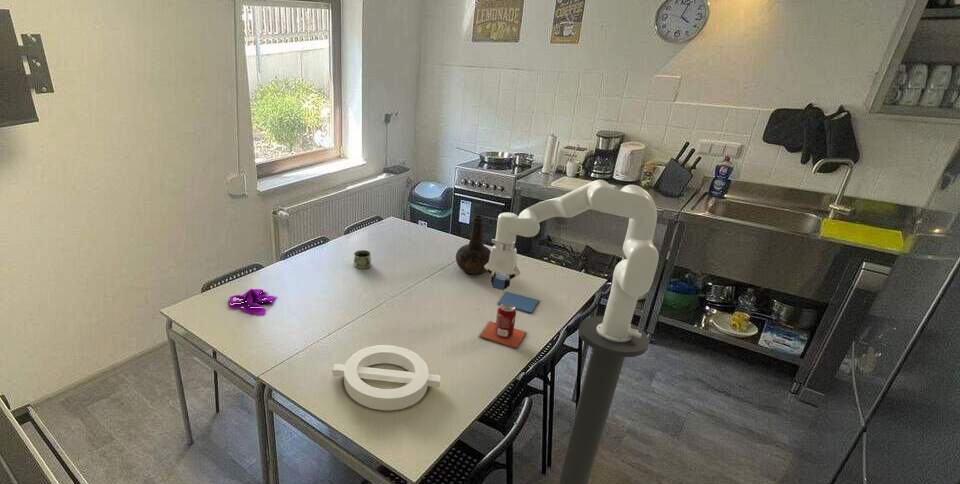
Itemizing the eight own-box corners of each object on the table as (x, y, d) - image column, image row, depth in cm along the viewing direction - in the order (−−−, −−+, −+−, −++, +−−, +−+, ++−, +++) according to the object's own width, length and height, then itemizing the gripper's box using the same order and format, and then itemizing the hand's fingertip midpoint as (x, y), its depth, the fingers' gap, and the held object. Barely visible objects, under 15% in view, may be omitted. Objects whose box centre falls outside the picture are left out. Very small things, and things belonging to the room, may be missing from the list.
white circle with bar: (328, 374, 168) (328, 363, 166) (392, 346, 182) (392, 336, 180) (377, 423, 147) (377, 411, 145) (445, 387, 162) (446, 376, 160)
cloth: (220, 302, 212) (218, 290, 209) (254, 287, 224) (253, 275, 222) (252, 320, 199) (250, 307, 196) (287, 303, 211) (286, 290, 208)
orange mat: (525, 333, 190) (525, 331, 190) (516, 348, 181) (516, 347, 181) (490, 322, 197) (490, 321, 197) (480, 337, 188) (480, 335, 188)
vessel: (376, 266, 243) (377, 255, 241) (363, 271, 238) (363, 259, 236) (361, 258, 252) (361, 247, 249) (348, 263, 247) (348, 251, 244)
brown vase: (491, 264, 246) (498, 211, 234) (491, 280, 230) (499, 224, 218) (455, 260, 250) (460, 208, 237) (453, 276, 234) (458, 221, 222)
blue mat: (538, 301, 213) (538, 300, 212) (531, 313, 204) (531, 312, 203) (506, 292, 219) (506, 291, 219) (498, 304, 210) (498, 303, 210)
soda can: (507, 340, 185) (511, 313, 179) (491, 334, 189) (495, 307, 184) (515, 333, 189) (520, 306, 184) (499, 327, 193) (503, 300, 188)
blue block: (506, 286, 198) (508, 276, 196) (503, 290, 195) (504, 280, 193) (496, 283, 200) (497, 273, 198) (492, 287, 197) (493, 278, 195)
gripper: (480, 243, 191) (476, 285, 199) (524, 252, 182) (518, 295, 190) (486, 237, 196) (482, 277, 204) (529, 245, 188) (523, 287, 196)
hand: (499, 285), depth 197 cm, fingers closed on blue block, 4 cm apart
